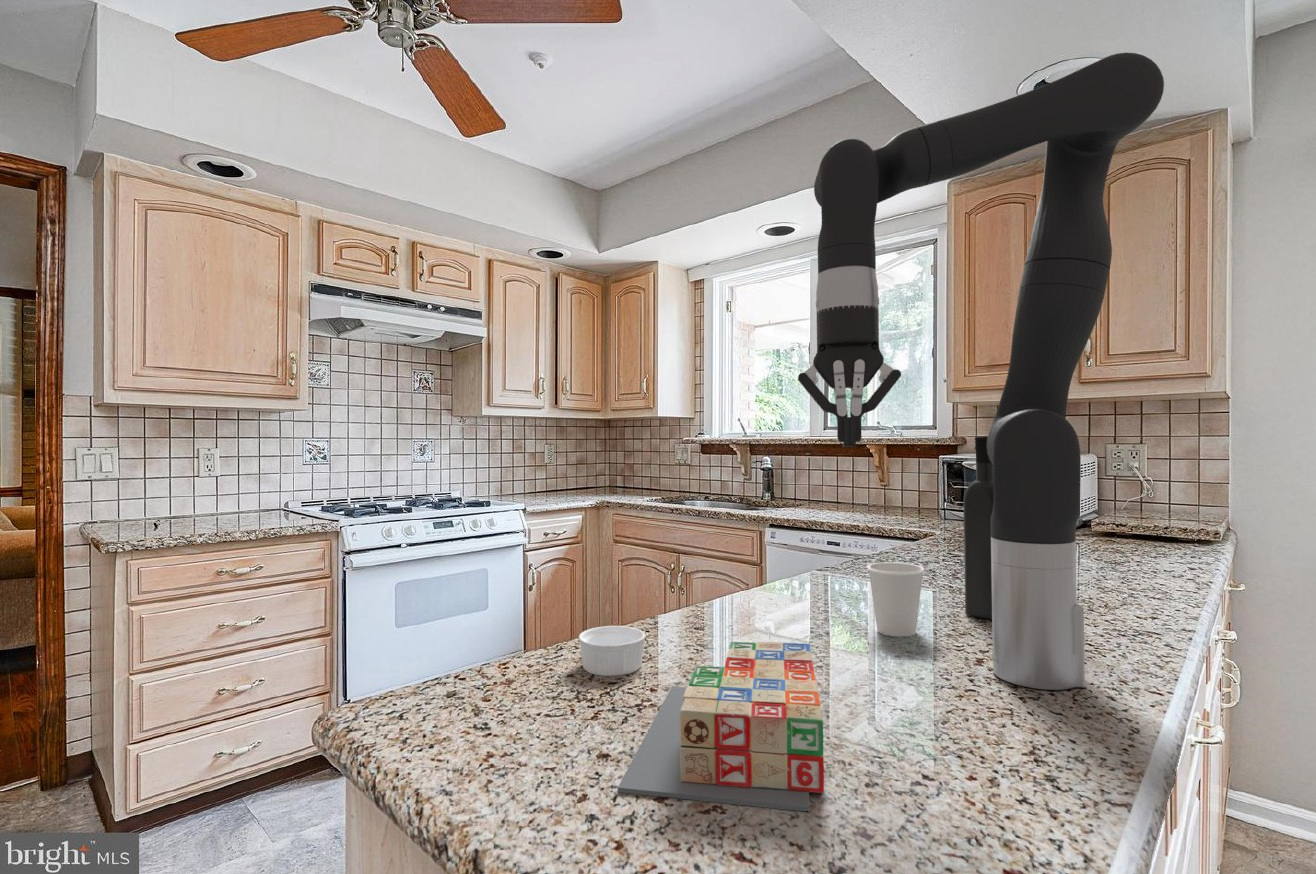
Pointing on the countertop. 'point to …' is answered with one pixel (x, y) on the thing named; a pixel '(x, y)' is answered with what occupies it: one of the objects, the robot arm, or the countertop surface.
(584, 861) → the countertop surface
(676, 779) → the mat
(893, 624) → the dixie cup
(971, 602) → the wine bottle
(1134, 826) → the countertop surface
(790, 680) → the stack of blocks
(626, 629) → the ramekin
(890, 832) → the countertop surface
